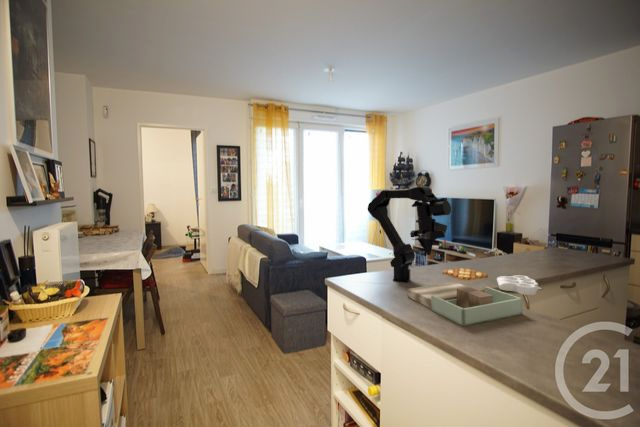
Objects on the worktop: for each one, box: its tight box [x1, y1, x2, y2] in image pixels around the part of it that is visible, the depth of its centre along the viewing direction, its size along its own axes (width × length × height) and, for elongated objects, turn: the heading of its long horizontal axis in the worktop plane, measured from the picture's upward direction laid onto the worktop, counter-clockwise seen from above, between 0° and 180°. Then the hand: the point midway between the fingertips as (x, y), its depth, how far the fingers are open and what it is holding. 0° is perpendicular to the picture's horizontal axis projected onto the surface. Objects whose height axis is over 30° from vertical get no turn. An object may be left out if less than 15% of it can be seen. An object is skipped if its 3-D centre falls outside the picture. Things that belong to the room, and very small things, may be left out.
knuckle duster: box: [496, 274, 542, 296], centre depth 131 cm, size 3×18×15 cm
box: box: [430, 286, 523, 327], centre depth 107 cm, size 14×24×5 cm, turn 111°
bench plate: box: [407, 281, 468, 309], centre depth 120 cm, size 14×22×3 cm, turn 111°
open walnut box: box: [457, 286, 493, 309], centre depth 107 cm, size 6×5×10 cm
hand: (428, 255), depth 134 cm, fingers closed
